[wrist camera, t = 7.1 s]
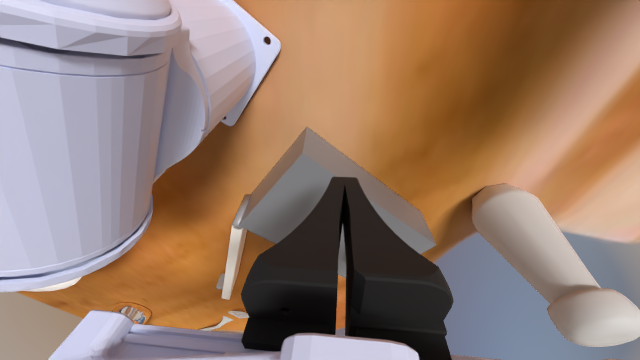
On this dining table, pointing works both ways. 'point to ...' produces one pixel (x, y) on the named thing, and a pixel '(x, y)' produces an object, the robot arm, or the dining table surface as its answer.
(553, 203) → the dining table surface
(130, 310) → the beer glass
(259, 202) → the camera housing
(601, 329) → the salt shaker
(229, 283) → the door
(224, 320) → the fork
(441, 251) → the dining table surface
